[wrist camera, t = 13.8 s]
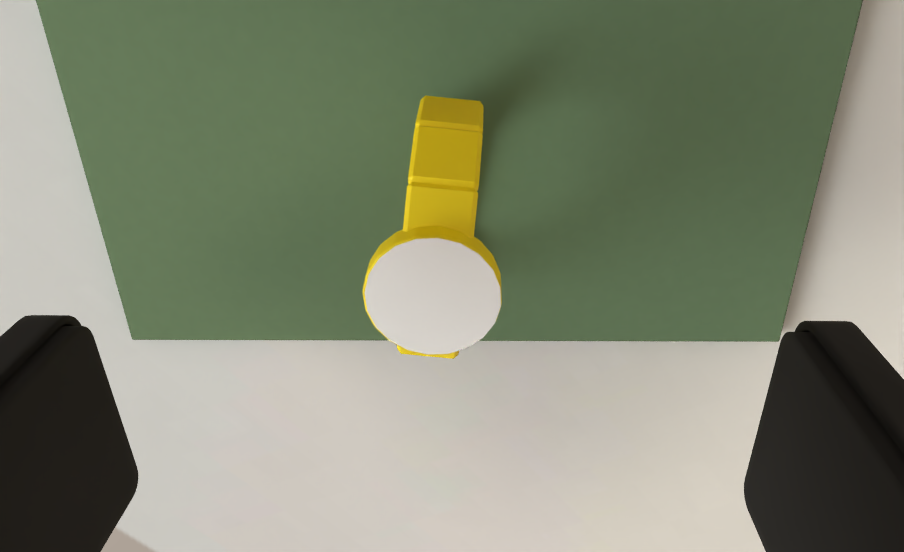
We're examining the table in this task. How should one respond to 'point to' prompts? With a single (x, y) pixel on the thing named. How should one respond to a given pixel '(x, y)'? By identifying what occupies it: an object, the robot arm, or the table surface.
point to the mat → (502, 157)
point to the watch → (437, 242)
